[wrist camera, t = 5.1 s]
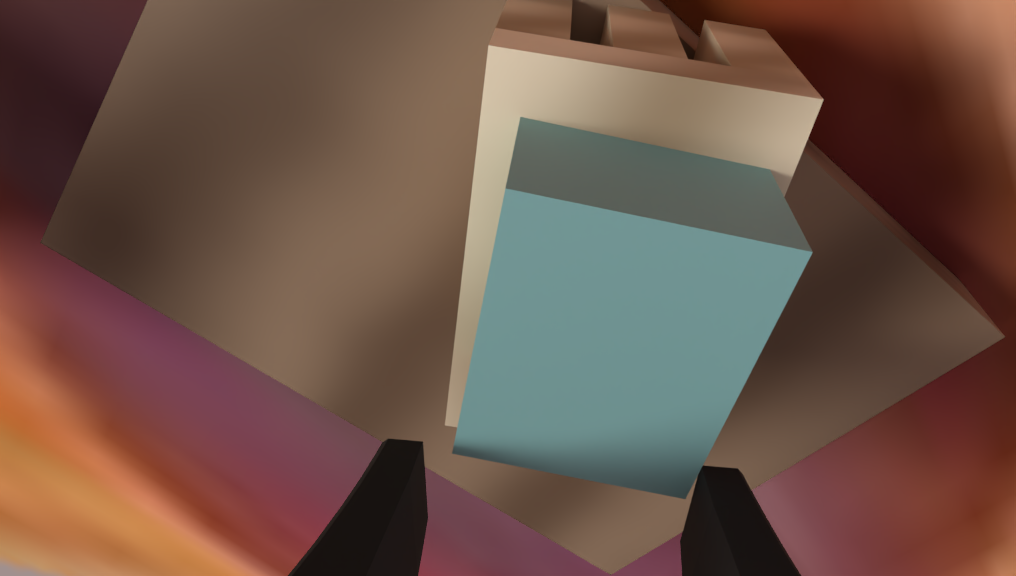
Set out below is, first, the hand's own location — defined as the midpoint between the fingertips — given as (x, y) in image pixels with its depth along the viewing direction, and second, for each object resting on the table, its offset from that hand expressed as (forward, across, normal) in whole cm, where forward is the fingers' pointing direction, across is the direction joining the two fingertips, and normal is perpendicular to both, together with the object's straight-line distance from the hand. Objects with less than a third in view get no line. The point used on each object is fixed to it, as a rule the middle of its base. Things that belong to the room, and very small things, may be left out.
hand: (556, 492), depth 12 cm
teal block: (+2, -1, -3) cm, 4 cm away
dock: (+9, +1, 0) cm, 9 cm away
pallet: (+6, 0, -3) cm, 7 cm away
